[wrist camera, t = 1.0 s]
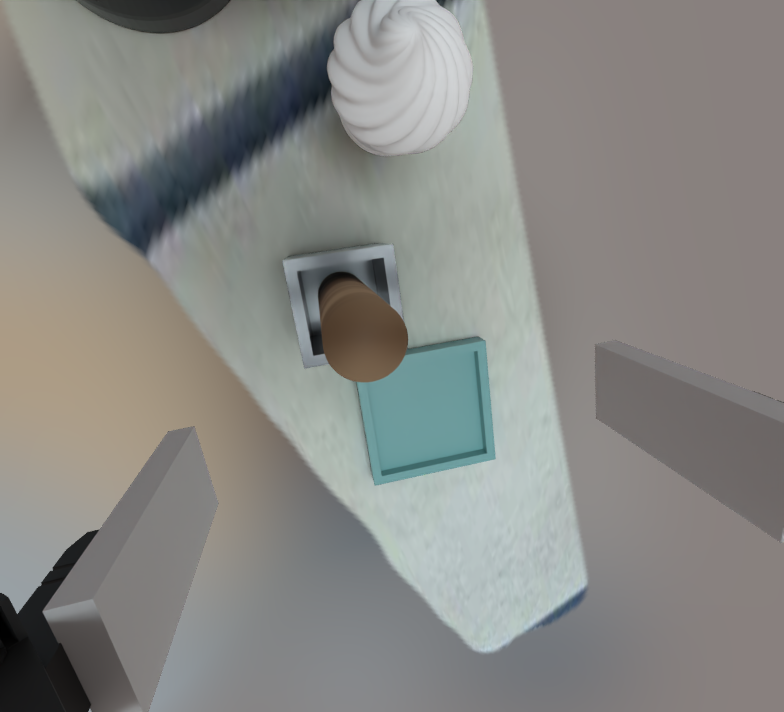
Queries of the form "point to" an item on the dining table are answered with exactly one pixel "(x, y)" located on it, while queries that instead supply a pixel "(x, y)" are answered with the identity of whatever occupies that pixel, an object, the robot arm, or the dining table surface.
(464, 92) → the soft serve ice cream cone
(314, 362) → the open box
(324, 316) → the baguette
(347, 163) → the dining table surface
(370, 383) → the tray
